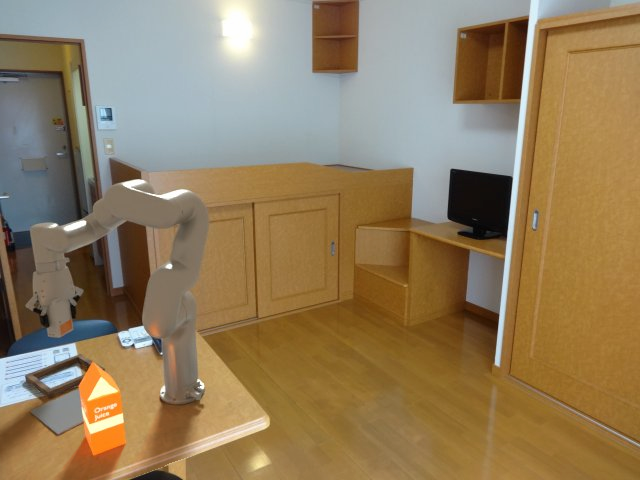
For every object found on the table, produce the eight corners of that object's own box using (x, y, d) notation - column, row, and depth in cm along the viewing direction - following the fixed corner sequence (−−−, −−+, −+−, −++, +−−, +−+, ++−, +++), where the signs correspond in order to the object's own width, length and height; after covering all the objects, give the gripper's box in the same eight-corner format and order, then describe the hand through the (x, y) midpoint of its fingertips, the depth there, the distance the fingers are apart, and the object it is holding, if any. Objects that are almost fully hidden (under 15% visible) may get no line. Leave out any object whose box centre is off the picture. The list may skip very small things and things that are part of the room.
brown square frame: (105, 374, 149) (104, 368, 149) (48, 398, 136) (47, 392, 136) (81, 359, 158) (80, 353, 157) (25, 381, 145) (24, 375, 144)
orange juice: (117, 425, 125) (109, 356, 120) (126, 443, 118) (118, 371, 113) (84, 436, 121) (75, 365, 115) (92, 456, 114) (82, 381, 109)
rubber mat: (113, 407, 132) (113, 406, 132) (57, 435, 121) (57, 434, 121) (84, 387, 142) (84, 386, 142) (30, 411, 130) (29, 410, 130)
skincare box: (60, 338, 140) (54, 300, 137) (47, 337, 141) (41, 299, 138) (74, 329, 146) (69, 292, 143) (62, 328, 146) (56, 291, 143)
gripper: (74, 256, 147) (81, 309, 151) (12, 270, 133) (22, 328, 138) (86, 260, 142) (94, 315, 147) (23, 275, 129) (34, 335, 133)
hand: (59, 321), depth 142 cm, fingers closed on skincare box, 7 cm apart
